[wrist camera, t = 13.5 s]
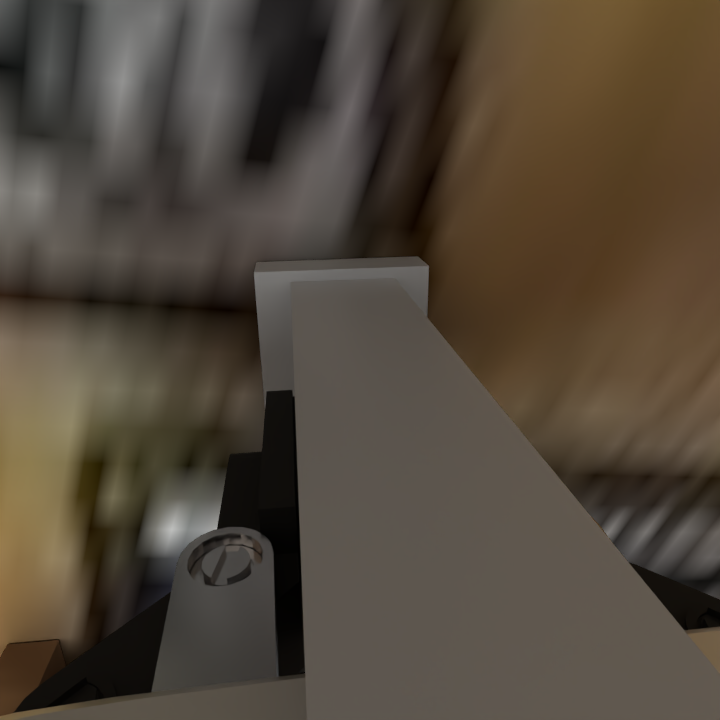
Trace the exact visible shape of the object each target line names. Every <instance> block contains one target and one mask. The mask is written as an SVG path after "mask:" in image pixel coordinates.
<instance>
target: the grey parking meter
mask: <svg viewBox="0 0 720 720" xmlns="http://www.w3.org/2000/svg"><path fill="white" fill-rule="evenodd" d="M428 279H429V266H428V265H427V264H426V263H425V262H424V261H423V260H421V259H420V258H419V257H418V256H412V257H384V258H356V259H328V260H299V261H271V262H256V266H255V270H254V280H255V293H256V305H257V317H258V330H259V342H260V355H261V367H262V379H263V392H264V404H265V405H266V392H267V391H280V390H292V392H293V396H295V415H296V442H297V468H298V495H299V521H300V548H301V575H302V601H303V628H304V654H305V681H306V707H307V720H720V673H719V672H718V671H717V670H716V668H715V667H714V666H713V665H712V664H711V662H710V661H709V660H708V659H707V657H706V656H705V655H704V654H703V653H702V651H701V650H700V649H699V648H698V646H697V645H696V644H695V643H694V642H693V640H692V639H691V638H690V637H689V636H688V634H687V633H686V632H685V631H684V629H683V628H682V627H681V626H680V625H679V623H678V622H677V621H676V620H675V618H674V617H673V616H672V615H671V614H670V612H669V611H668V610H667V609H666V608H665V606H664V605H663V604H662V603H661V601H660V600H659V599H658V598H657V597H656V595H655V594H654V593H653V592H652V590H651V589H650V588H649V587H648V586H647V584H646V583H645V582H644V581H643V580H642V578H641V577H640V576H639V575H638V573H637V572H636V571H635V570H634V569H633V567H632V566H631V565H630V564H629V562H628V561H627V560H626V559H625V558H624V556H623V555H622V554H621V553H620V552H619V550H618V549H617V548H616V547H615V545H614V544H613V543H612V542H611V541H610V539H609V538H608V537H607V536H606V534H605V533H604V532H603V531H602V530H601V528H600V527H599V526H598V525H597V523H596V522H595V521H594V520H593V519H592V517H591V516H590V515H589V514H588V513H587V511H586V510H585V509H584V508H583V506H582V505H581V504H580V503H579V502H578V500H577V499H576V498H575V497H574V495H573V494H572V493H571V492H570V491H569V489H568V488H567V487H566V486H565V485H564V483H563V482H562V481H561V480H560V478H559V477H558V476H557V475H556V474H555V472H554V471H553V470H552V469H551V467H550V466H549V465H548V464H547V463H546V461H545V460H544V459H543V458H542V457H541V455H540V454H539V453H538V452H537V450H536V449H535V448H534V447H533V446H532V444H531V443H530V442H529V441H528V439H527V438H526V437H525V436H524V435H523V433H522V432H521V431H520V430H519V429H518V427H517V426H516V425H515V424H514V422H513V421H512V420H511V419H510V418H509V416H508V415H507V414H506V413H505V411H504V410H503V409H502V408H501V407H500V405H499V404H498V403H497V402H496V401H495V399H494V398H493V397H492V396H491V394H490V393H489V392H488V391H487V390H486V388H485V387H484V386H483V385H482V383H481V382H480V381H479V380H478V379H477V377H476V376H475V375H474V374H473V373H472V371H471V370H470V369H469V368H468V366H467V365H466V364H465V363H464V362H463V360H462V359H461V358H460V357H459V355H458V354H457V353H456V352H455V351H454V349H453V348H452V347H451V346H450V345H449V343H448V342H447V341H446V340H445V338H444V337H443V336H442V335H441V334H440V332H439V331H438V330H437V329H436V327H435V326H434V325H433V324H432V323H431V321H430V320H429V319H428V318H427V309H428Z"/></svg>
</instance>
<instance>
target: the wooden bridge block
mask: <svg viewBox="0 0 720 720" xmlns="http://www.w3.org/2000/svg"><path fill="white" fill-rule="evenodd" d="M64 667H66V665H65V662H64V658H63V654H62V650H61V647H60V643H59V640H53V641H42V642H30V643H19V644H7V646H6V648H5V650H4V652H3V654H2V655H1V657H0V716H3V715H7V714H12V713H13V712H14V711H15V710H16V709H17V707H18V706H19V705H20V704H21V702H22V701H23V700H24V698H25V697H27V696H28V695H29V694H30V693H31V692H32V691H34V690H35V689H36V688H37V687H38V686H39V685H41V684H42V683H43V682H45V681H46V680H47V679H49V678H50V677H52V676H53V675H54V674H56V673H57V672H59V671H60V670H62V669H63V668H64Z"/></svg>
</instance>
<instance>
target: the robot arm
mask: <svg viewBox="0 0 720 720" xmlns="http://www.w3.org/2000/svg"><path fill="white" fill-rule="evenodd" d="M592 519H593V518H592ZM593 520H594V519H593ZM594 521H595V520H594ZM595 522H596V521H595ZM596 523H597V522H596ZM597 525H598V526H599V527H600V525H599V524H598V523H597ZM600 528H601V527H600ZM601 530H602V531H603V529H602V528H601ZM603 532H604V531H603ZM604 533H605V532H604ZM605 534H606V533H605ZM606 536H607V535H606ZM607 537H608V536H607ZM610 541H611V540H610ZM629 564H630V565H631V566H632V567H633V569H634V570H635V571H636V572H637V573H638V575H639V576H640V577H641V578H642V580H643V581H644V582H645V583H646V584H647V586H648V587H649V588H650V589H651V590H652V592H653V593H654V594H655V595H656V597H657V598H658V599H659V600H660V601H661V603H662V604H663V605H664V606H665V608H666V609H667V610H668V611H669V612H670V614H671V615H672V616H673V617H674V618H675V620H676V621H677V622H678V623H679V625H680V626H681V627H682V628H683V629H684V631H685V632H686V633H687V634H688V636H689V637H690V638H691V639H692V640H693V642H694V643H695V644H696V645H697V646H698V648H699V649H700V650H701V651H702V653H703V654H704V655H705V656H706V657H707V659H708V660H709V661H710V662H711V664H712V665H713V666H714V667H715V668H716V670H717V671H718V672H719V673H720V600H719V599H717V598H714V597H712V596H710V595H707V594H705V593H702V592H700V591H698V590H695V589H693V588H690V587H688V586H685V585H683V584H681V583H678V582H676V581H673V580H671V579H669V578H666V577H664V576H661V575H659V574H656V573H654V572H652V571H649V570H647V569H644V568H642V567H640V566H637V565H635V564H632V563H630V562H629ZM299 672H305V654H304V628H303V601H302V575H301V548H300V521H299V495H298V468H297V442H296V415H295V396H293V392H292V390H280V391H267V392H266V405H265V419H264V434H263V448H262V452H252V453H238V454H231V455H230V457H229V462H228V468H227V474H226V480H225V486H224V492H223V498H222V504H221V510H220V516H219V521H218V527H217V530H213V531H211V532H208V533H206V534H204V535H201V536H200V537H198V538H197V539H195V540H194V541H192V542H191V543H189V545H188V546H187V547H186V548H185V549H184V550H183V551H182V553H181V555H180V557H179V559H178V562H177V565H176V570H175V575H174V580H173V585H172V590H171V592H170V593H169V594H167V595H166V596H164V597H163V598H162V599H160V600H159V601H157V602H156V603H155V604H153V605H152V606H150V607H149V608H148V609H146V610H145V611H143V612H142V613H140V614H139V615H138V616H136V617H135V618H133V619H132V620H131V621H129V622H128V623H126V624H125V625H124V626H122V627H121V628H119V629H118V630H117V631H115V632H114V633H112V634H111V635H109V636H108V637H107V638H105V639H104V640H102V641H101V642H100V643H98V644H97V645H95V646H94V647H93V648H91V649H90V650H88V651H87V652H85V653H84V654H83V655H81V656H80V657H78V658H77V659H76V660H74V661H73V662H71V663H70V664H69V665H67V666H66V667H64V668H63V669H62V670H60V671H59V672H57V673H56V674H54V675H53V676H52V677H50V678H49V679H47V680H46V681H45V682H43V683H42V684H41V685H39V686H38V687H37V688H36V689H35V690H34V691H32V692H31V693H30V694H29V695H28V696H27V697H25V698H24V700H23V701H22V702H21V704H20V705H19V706H18V707H17V709H16V710H15V711H14V712H13V713H12V714H7V715H3V716H0V720H307V707H306V681H305V674H298V673H299Z"/></svg>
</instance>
